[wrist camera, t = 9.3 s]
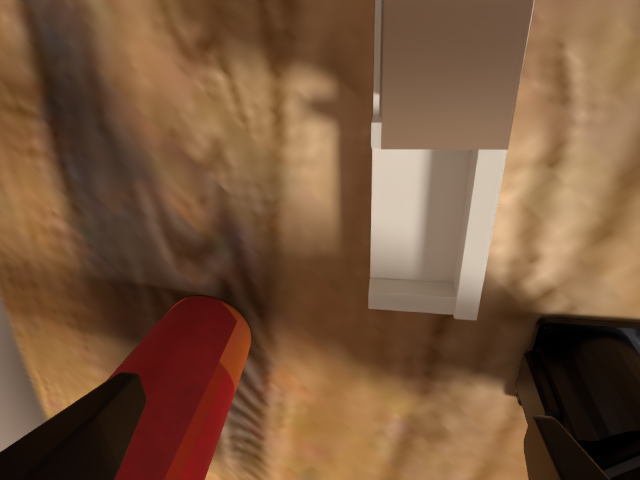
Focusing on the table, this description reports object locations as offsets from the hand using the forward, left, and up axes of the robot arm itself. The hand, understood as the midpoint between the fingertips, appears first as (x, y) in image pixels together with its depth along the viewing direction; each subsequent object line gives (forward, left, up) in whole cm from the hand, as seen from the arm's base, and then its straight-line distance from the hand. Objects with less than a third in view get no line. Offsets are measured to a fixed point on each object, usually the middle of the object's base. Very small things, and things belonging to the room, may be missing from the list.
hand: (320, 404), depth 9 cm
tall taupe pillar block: (-3, -7, -11) cm, 14 cm away
